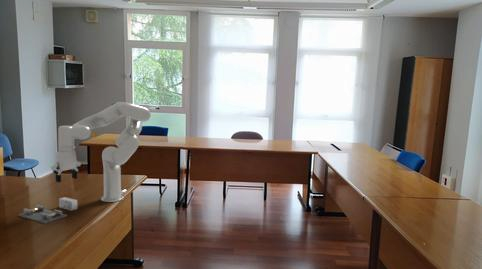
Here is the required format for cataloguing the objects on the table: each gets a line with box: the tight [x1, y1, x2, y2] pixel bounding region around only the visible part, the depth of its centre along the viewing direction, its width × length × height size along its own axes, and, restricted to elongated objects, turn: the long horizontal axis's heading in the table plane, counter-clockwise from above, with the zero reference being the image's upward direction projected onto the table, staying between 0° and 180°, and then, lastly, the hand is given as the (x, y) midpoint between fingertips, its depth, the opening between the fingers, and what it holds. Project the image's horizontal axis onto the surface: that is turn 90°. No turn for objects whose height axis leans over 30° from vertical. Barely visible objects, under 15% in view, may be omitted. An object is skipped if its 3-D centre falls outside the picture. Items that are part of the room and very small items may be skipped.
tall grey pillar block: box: [58, 196, 78, 211], centre depth 187 cm, size 4×10×5 cm, turn 64°
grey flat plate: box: [17, 208, 68, 224], centre depth 174 cm, size 12×21×1 cm, turn 64°
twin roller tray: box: [23, 204, 63, 220], centre depth 174 cm, size 7×20×2 cm, turn 64°
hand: (66, 180), depth 185 cm, fingers open, 9 cm apart
